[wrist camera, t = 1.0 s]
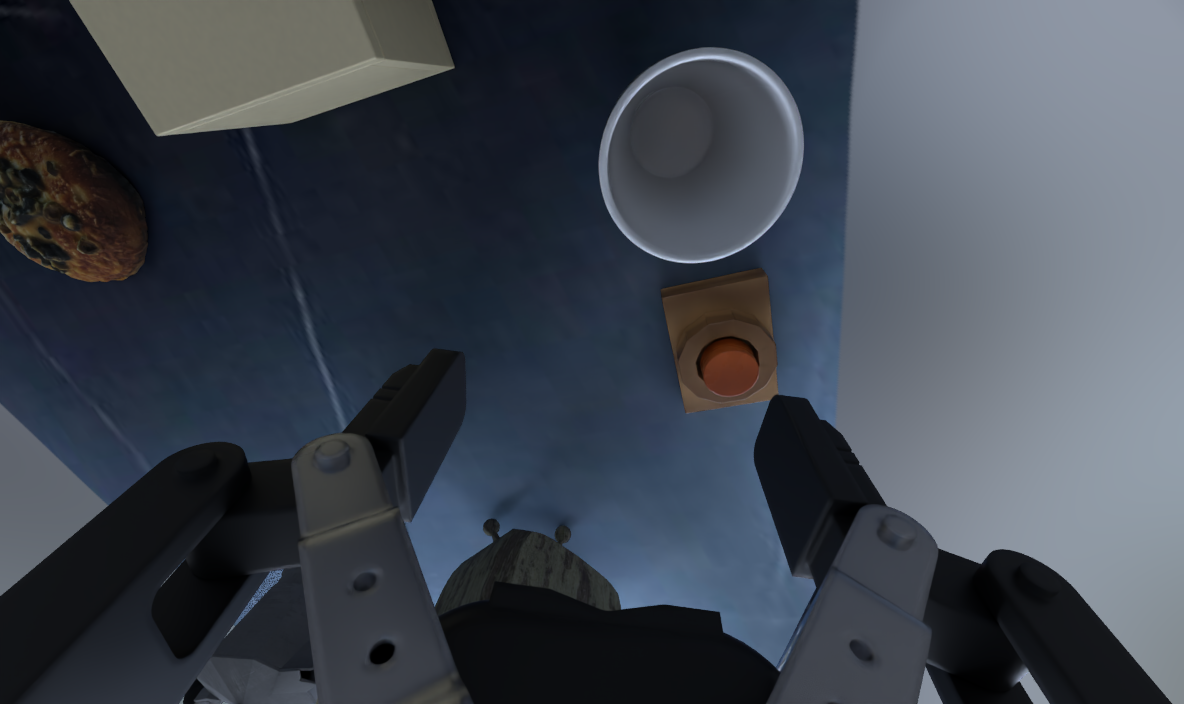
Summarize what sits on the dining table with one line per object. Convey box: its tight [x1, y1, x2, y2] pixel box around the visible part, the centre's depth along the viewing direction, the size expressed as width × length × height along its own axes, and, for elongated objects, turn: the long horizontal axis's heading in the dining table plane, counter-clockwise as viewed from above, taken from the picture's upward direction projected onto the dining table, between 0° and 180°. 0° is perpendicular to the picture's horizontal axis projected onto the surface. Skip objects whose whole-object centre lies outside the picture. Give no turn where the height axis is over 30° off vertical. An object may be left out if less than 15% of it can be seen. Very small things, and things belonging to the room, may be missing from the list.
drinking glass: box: [599, 47, 804, 263], centre depth 22 cm, size 7×7×15 cm
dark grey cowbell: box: [435, 519, 621, 616], centre depth 36 cm, size 14×9×25 cm, turn 45°
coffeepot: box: [183, 567, 318, 704], centre depth 42 cm, size 15×9×18 cm, turn 115°
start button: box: [700, 338, 759, 397], centre depth 31 cm, size 4×4×2 cm
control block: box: [661, 268, 778, 413], centre depth 33 cm, size 10×7×4 cm
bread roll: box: [0, 121, 148, 282], centre depth 32 cm, size 11×11×5 cm
